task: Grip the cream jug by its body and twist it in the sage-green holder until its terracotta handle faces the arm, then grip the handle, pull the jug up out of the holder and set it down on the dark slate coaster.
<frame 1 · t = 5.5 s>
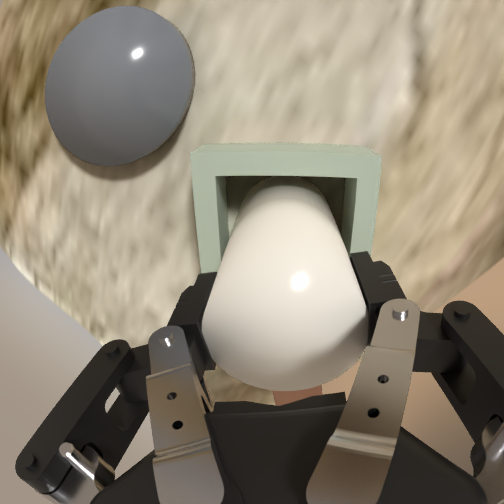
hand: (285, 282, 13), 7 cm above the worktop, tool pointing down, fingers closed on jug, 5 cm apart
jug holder: (285, 220, 20), on the worktop
coaster: (116, 84, 16), on the worktop
jug: (290, 288, 16), in the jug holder, touching gripper
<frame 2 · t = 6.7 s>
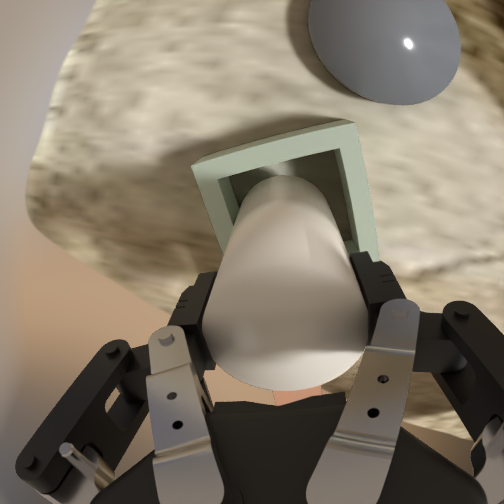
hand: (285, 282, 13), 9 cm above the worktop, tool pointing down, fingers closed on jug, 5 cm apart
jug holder: (292, 204, 21), on the worktop
coaster: (385, 31, 15), on the worktop
jug: (290, 288, 16), point 7 cm above the worktop, touching gripper
when the fingers open (7 cm above the worktop, at t = 8.0 s): jug stays where it is, resting in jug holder.
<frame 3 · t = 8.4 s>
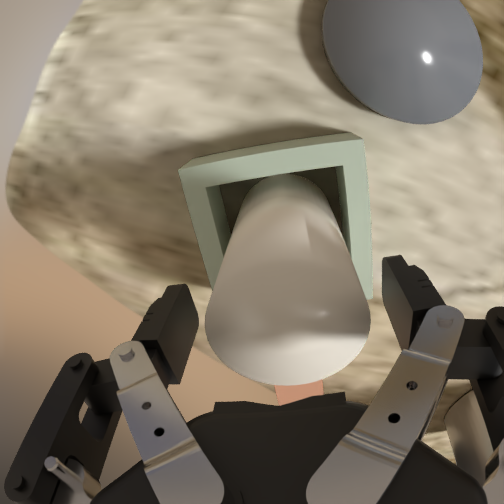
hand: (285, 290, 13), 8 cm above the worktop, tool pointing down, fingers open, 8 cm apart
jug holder: (284, 218, 20), on the worktop
coaster: (404, 42, 14), on the worktop
jug: (291, 285, 16), in the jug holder
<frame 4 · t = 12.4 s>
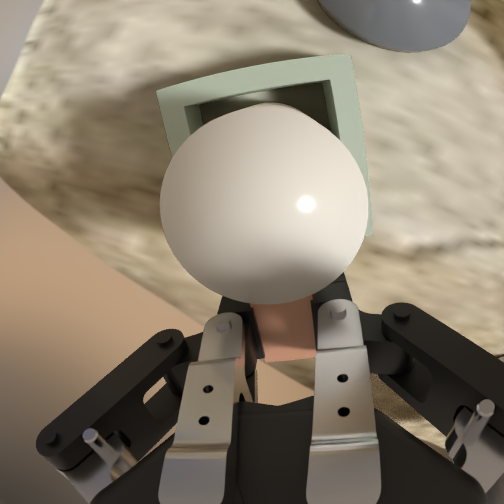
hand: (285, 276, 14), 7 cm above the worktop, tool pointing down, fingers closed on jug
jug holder: (271, 150, 18), on the worktop
jug: (275, 204, 14), in the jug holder, touching gripper
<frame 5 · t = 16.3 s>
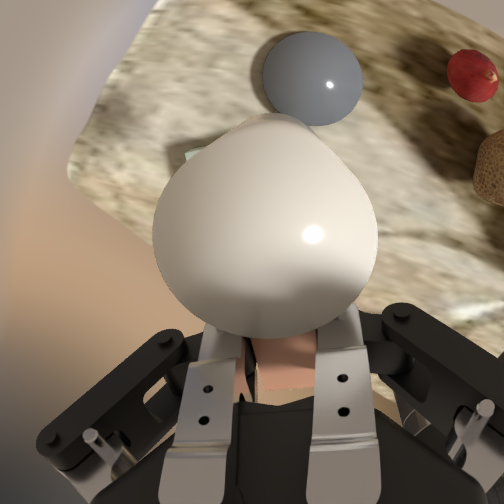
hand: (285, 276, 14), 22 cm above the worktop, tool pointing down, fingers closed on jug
onion: (455, 76, 27), on the worktop
natural sponge: (486, 158, 30), on the worktop
coaster: (312, 78, 29), on the worktop
jug: (276, 225, 13), point 22 cm above the worktop, touching gripper
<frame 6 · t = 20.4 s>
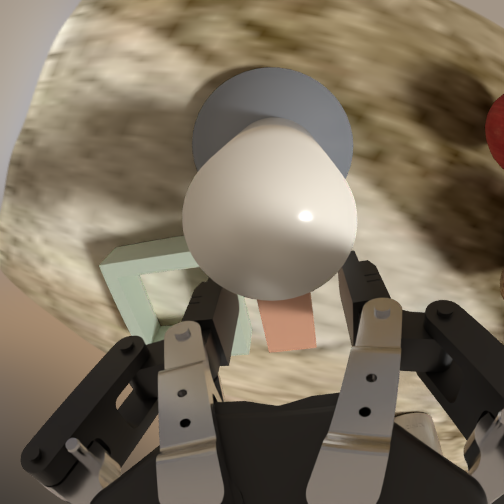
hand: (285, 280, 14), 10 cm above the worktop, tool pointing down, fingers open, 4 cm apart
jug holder: (184, 290, 26), on the worktop
onion: (492, 126, 18), on the worktop
coaster: (272, 144, 20), on the worktop
jug: (278, 213, 15), on the coaster, point 6 cm above the worktop
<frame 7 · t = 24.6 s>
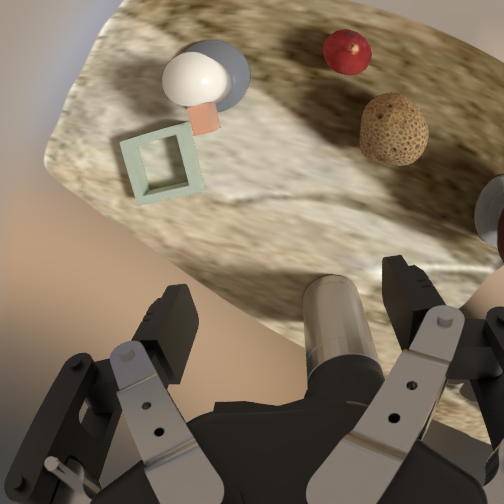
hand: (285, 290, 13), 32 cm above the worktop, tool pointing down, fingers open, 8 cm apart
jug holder: (165, 161, 43), on the worktop
mate gourd: (503, 206, 41), on the worktop
onion: (341, 56, 35), on the worktop
natural sponge: (381, 125, 38), on the worktop
coaster: (211, 76, 37), on the worktop
jug: (204, 93, 33), on the coaster, point 6 cm above the worktop
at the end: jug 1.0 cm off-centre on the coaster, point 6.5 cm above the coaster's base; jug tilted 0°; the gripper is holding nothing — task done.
